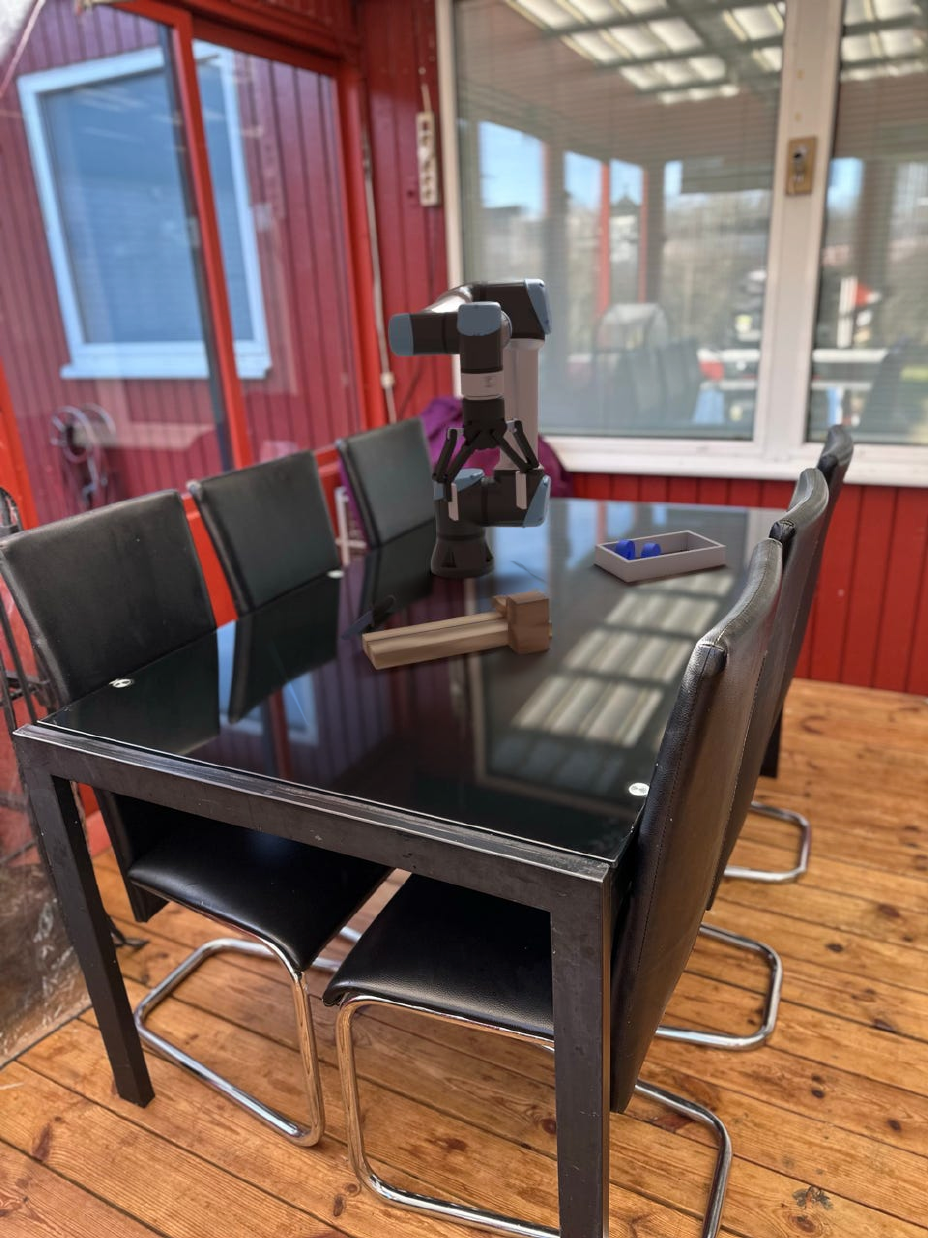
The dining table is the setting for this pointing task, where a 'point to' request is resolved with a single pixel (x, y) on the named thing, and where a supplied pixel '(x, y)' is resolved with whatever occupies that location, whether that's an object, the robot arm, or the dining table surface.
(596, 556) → the grey rectangular tray
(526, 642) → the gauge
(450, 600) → the dining table surface
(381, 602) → the knife
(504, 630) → the board
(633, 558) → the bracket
